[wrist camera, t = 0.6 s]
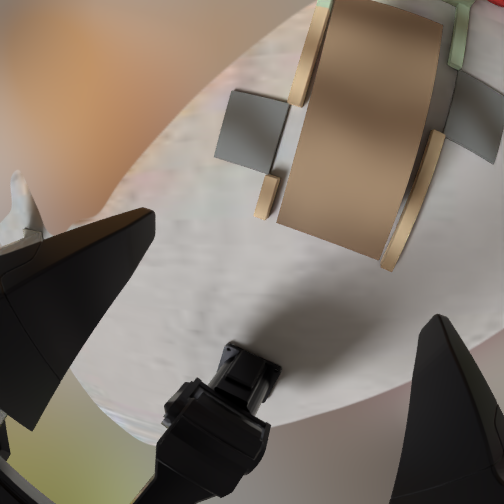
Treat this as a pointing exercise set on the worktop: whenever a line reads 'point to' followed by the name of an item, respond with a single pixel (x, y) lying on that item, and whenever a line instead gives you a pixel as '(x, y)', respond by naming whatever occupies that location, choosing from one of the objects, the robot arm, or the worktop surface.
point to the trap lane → (274, 112)
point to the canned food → (497, 2)
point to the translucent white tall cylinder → (22, 241)
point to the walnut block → (362, 125)
